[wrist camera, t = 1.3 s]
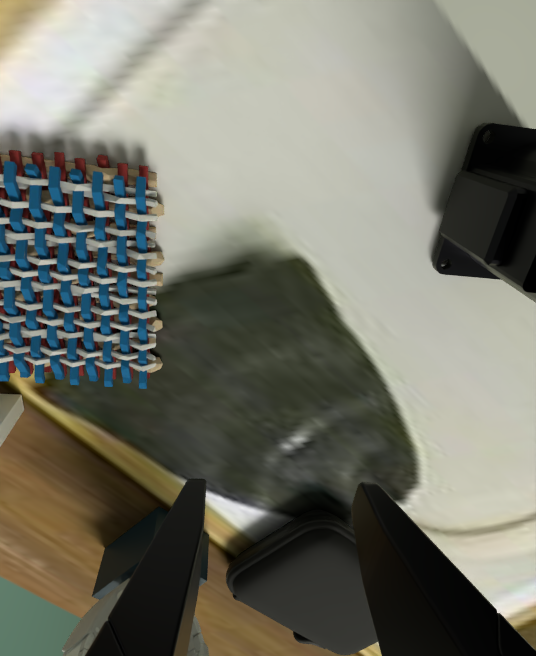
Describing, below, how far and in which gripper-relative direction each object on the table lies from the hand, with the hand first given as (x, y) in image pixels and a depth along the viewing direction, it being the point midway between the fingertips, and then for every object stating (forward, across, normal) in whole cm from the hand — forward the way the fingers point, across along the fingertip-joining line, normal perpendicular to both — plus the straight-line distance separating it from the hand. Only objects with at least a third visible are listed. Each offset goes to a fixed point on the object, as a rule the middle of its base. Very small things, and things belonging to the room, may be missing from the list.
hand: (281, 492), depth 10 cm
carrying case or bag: (+13, -8, +23) cm, 27 cm away
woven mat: (+13, +9, 0) cm, 16 cm away
